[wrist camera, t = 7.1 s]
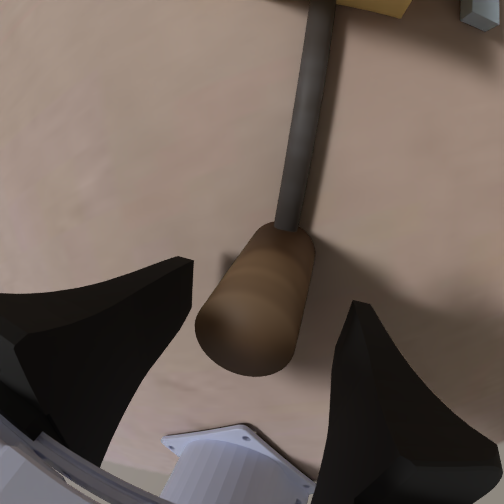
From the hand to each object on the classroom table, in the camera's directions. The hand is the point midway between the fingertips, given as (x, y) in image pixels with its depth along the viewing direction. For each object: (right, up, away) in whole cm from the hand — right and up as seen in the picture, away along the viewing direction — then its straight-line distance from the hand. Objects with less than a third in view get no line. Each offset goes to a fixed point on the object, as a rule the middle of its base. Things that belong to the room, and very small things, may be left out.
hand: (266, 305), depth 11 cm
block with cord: (+1, +7, -2) cm, 8 cm away
